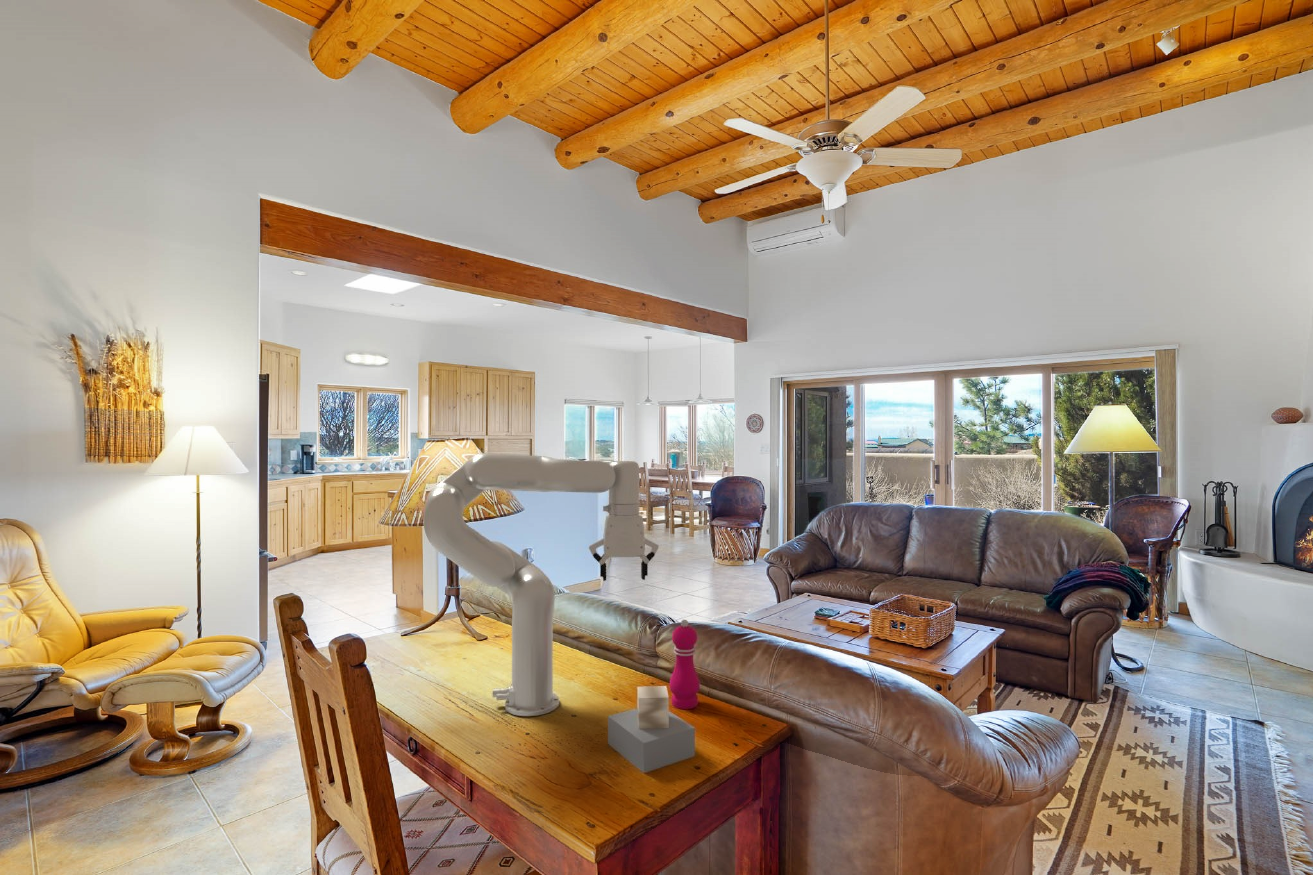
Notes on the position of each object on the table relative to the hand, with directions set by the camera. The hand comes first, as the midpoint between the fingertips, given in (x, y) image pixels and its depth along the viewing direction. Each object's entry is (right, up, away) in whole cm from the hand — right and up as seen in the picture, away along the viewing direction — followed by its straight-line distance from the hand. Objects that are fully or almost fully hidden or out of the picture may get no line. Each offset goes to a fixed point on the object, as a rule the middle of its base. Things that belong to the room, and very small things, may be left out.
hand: (623, 579), depth 156 cm
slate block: (+7, -28, -29) cm, 41 cm away
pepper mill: (+15, -28, -7) cm, 33 cm away
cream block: (+7, -22, -29) cm, 37 cm away
